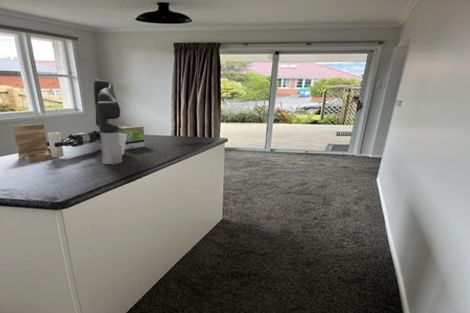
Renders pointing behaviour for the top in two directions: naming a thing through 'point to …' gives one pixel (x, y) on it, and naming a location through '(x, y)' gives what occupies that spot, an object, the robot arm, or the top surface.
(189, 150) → the top surface
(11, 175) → the top surface
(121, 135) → the cup
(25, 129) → the holder
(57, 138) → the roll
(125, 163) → the top surface
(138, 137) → the tea box
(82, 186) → the top surface
